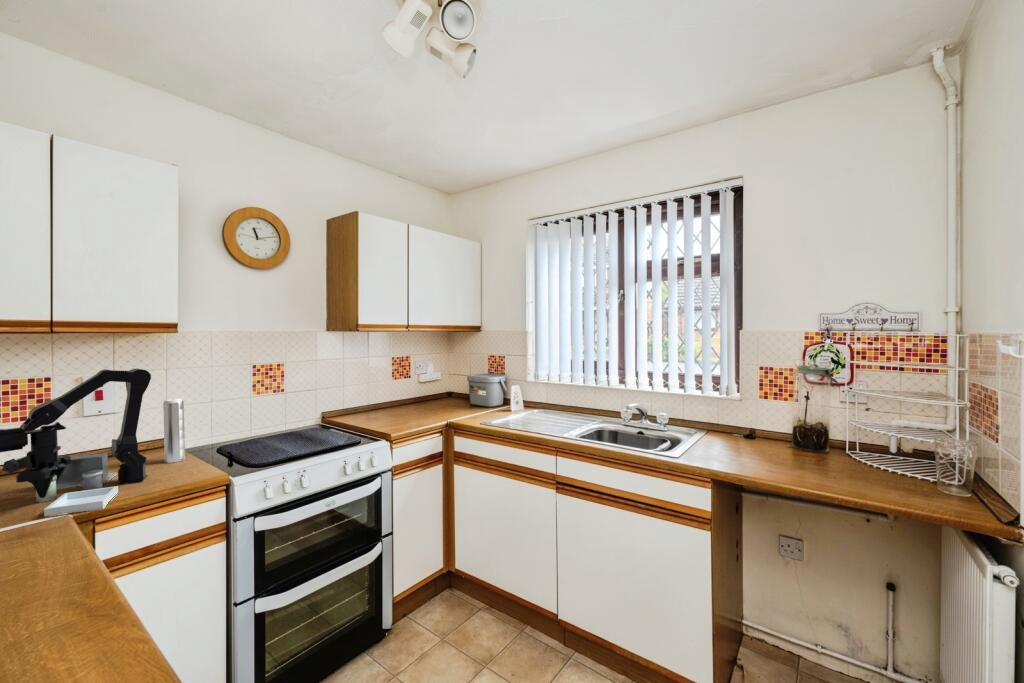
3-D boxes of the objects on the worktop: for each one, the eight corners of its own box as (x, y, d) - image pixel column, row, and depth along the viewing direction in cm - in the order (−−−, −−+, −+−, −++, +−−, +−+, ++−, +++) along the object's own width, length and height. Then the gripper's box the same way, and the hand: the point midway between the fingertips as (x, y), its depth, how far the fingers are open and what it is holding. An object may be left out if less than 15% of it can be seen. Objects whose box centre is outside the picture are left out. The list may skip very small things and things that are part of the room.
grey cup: (105, 489, 144) (104, 469, 144) (100, 494, 140) (99, 473, 140) (86, 492, 142) (85, 471, 142) (80, 497, 138) (79, 475, 138)
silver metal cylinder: (167, 464, 172) (166, 401, 171) (162, 460, 175) (160, 399, 175) (187, 460, 177) (185, 399, 176) (182, 457, 181) (180, 397, 180)
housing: (117, 474, 159) (116, 450, 159) (108, 482, 151) (107, 457, 151) (49, 483, 150) (48, 457, 150) (36, 491, 142) (35, 464, 142)
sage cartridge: (60, 495, 139) (59, 474, 139) (53, 501, 135) (52, 478, 135) (39, 498, 137) (38, 476, 137) (31, 504, 133) (31, 481, 133)
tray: (118, 493, 141) (117, 486, 141) (102, 509, 129) (102, 500, 129) (65, 501, 135) (65, 493, 135) (44, 518, 123) (43, 509, 123)
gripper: (23, 442, 140) (25, 489, 140) (-11, 457, 123) (-9, 511, 124) (70, 437, 145) (72, 483, 146) (43, 452, 129) (45, 503, 129)
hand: (46, 494), depth 136 cm, fingers closed on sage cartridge, 4 cm apart
